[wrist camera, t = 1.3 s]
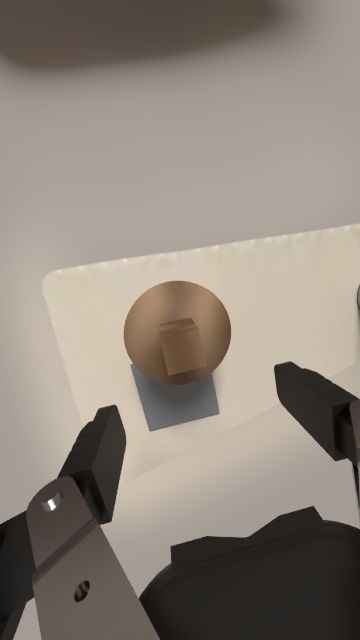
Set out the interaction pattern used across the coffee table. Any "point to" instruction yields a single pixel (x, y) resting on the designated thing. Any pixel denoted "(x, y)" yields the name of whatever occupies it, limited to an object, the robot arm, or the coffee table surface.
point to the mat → (175, 400)
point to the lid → (177, 332)
